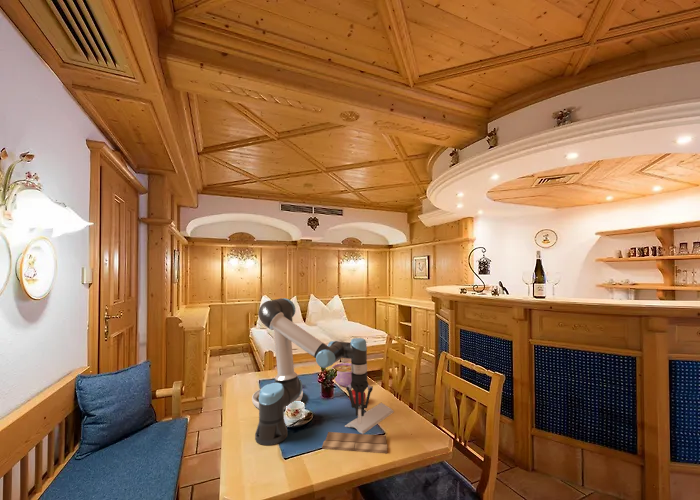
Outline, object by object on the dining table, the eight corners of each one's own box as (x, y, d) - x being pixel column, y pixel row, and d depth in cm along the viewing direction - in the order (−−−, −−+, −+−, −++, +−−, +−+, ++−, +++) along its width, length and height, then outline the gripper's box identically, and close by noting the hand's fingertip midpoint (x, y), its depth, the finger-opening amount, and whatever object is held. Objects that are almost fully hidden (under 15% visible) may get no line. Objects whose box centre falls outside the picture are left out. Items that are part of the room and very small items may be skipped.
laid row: (322, 448, 142) (322, 446, 142) (324, 442, 146) (324, 440, 146) (387, 453, 138) (387, 450, 138) (387, 447, 142) (387, 444, 142)
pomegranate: (365, 406, 184) (365, 390, 184) (348, 406, 184) (348, 390, 184) (365, 399, 193) (365, 383, 194) (349, 398, 194) (349, 383, 194)
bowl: (240, 408, 182) (241, 395, 183) (271, 389, 210) (271, 377, 211) (285, 417, 171) (285, 402, 172) (311, 395, 199) (311, 383, 200)
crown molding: (363, 435, 154) (363, 427, 154) (344, 427, 161) (343, 420, 161) (393, 412, 176) (393, 406, 177) (375, 406, 184) (375, 400, 184)
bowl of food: (366, 382, 221) (365, 365, 221) (351, 392, 203) (351, 374, 204) (342, 377, 231) (342, 361, 231) (326, 386, 214) (326, 369, 214)
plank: (325, 442, 147) (325, 439, 147) (328, 434, 153) (328, 431, 152) (386, 446, 143) (386, 443, 143) (386, 437, 149) (386, 435, 149)
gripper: (344, 374, 148) (345, 425, 146) (372, 375, 146) (373, 427, 145) (346, 368, 155) (347, 418, 154) (373, 369, 153) (374, 419, 152)
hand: (360, 422), depth 149 cm, fingers closed
